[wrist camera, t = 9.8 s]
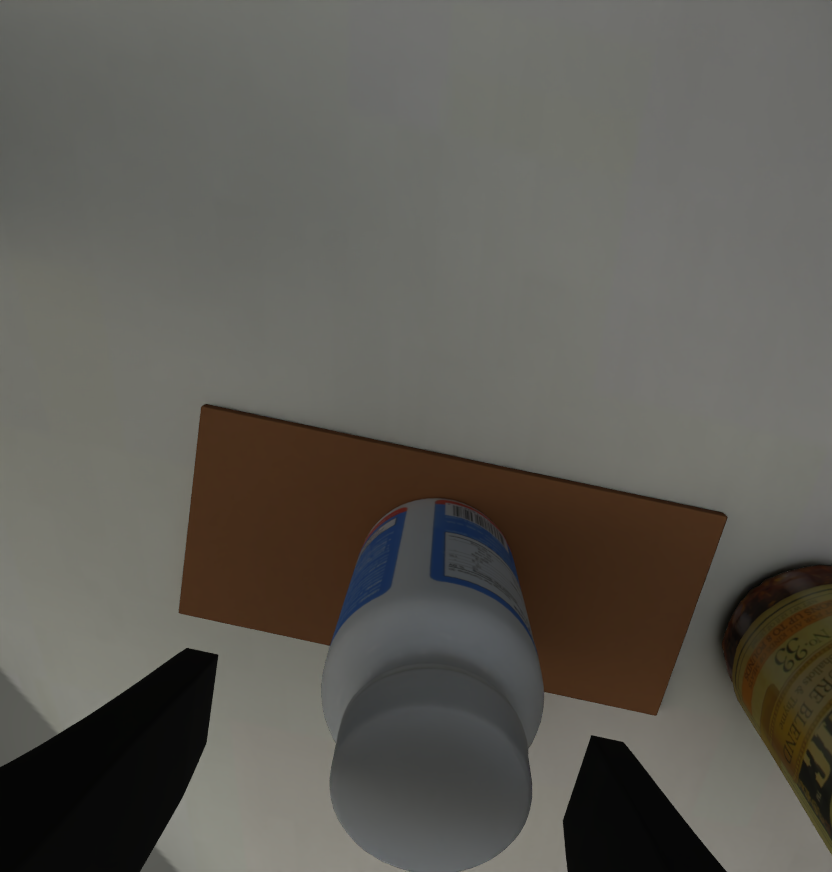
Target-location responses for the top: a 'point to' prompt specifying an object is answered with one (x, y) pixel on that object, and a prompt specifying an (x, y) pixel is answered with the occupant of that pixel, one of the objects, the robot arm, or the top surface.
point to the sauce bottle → (789, 680)
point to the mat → (463, 482)
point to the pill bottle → (433, 692)
